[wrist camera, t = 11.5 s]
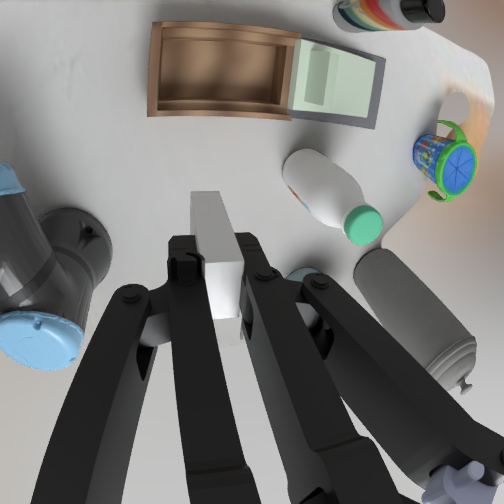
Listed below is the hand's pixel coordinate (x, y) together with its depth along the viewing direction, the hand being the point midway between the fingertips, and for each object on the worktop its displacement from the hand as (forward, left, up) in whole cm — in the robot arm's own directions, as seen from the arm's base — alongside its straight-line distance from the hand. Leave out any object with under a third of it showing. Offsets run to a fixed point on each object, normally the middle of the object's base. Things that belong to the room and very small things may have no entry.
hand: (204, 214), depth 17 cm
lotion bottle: (+23, +20, -31) cm, 43 cm away
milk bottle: (+19, -7, -31) cm, 37 cm away
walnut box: (+4, +8, -30) cm, 32 cm away
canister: (+40, -28, -31) cm, 58 cm away
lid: (+20, +8, -28) cm, 35 cm away
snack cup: (+45, -1, -31) cm, 54 cm away
